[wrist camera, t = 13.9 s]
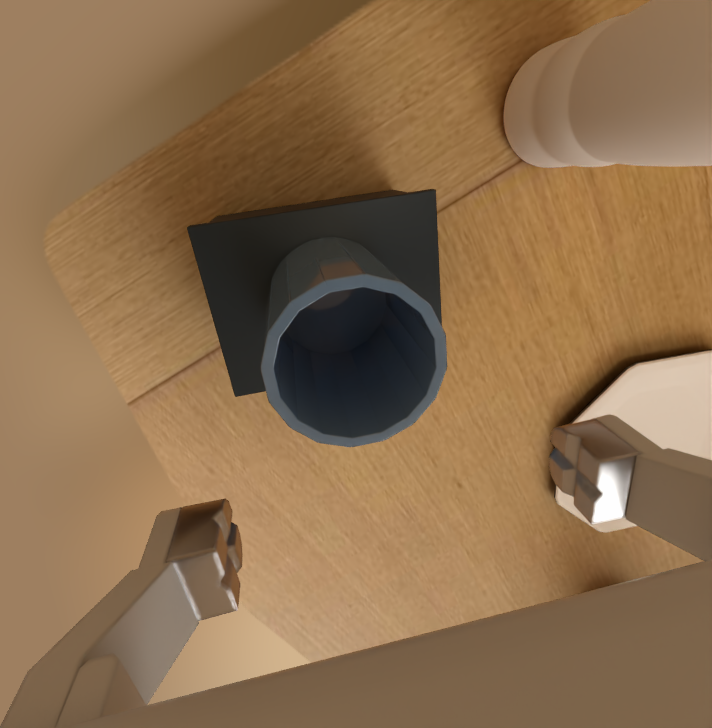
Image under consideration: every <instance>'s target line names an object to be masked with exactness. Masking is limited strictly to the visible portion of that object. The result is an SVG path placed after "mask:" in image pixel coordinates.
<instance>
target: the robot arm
mask: <svg viewBox="0 0 712 728" xmlns="http://www.w3.org/2000/svg"><path fill="white" fill-rule="evenodd" d="M550 442H551V443H552V444H553V445H554V446H555V449H554V450H553V451H552V453H551V454H550V456H549V469H550V473H551V476H552V478H553V480H554V482H555V484H556V485H557V487H558V488H559V489H560V490H561V491H562V492H563V493H565V494H568V495H570V496H572V497H574V506H575V507H576V508H577V509H578V510H579V511H580V512H581V513H582V515H583V516H584V517H585V518H586V519H587V520H588V521H589V522H590V523H591V525H592V524H597V523H601V522H606V521H611V520H616V519H620V518H625V517H626V520H628V521H630V522H632V523H634V524H635V525H637V526H639V527H641V528H643V529H645V530H647V531H649V532H651V533H653V534H654V535H656V536H658V537H660V538H662V539H664V540H666V541H668V542H670V543H672V544H673V545H675V546H677V547H679V548H681V549H683V550H685V551H687V552H689V553H691V554H692V555H694V556H696V557H698V558H700V559H702V560H704V562H700V563H696V564H692V565H689V566H685V567H681V568H677V569H673V570H669V571H665V572H661V573H658V574H654V575H650V576H646V577H642V578H638V579H634V580H630V581H627V582H623V583H619V584H615V585H611V586H607V587H603V588H599V589H596V590H592V591H588V592H584V593H580V594H576V595H572V596H568V597H565V598H561V599H557V600H553V601H549V602H545V603H541V604H537V605H534V606H530V607H526V608H522V609H518V610H514V611H510V612H507V613H503V614H499V615H495V616H491V617H487V618H483V619H479V620H476V621H472V622H468V623H464V624H460V625H456V626H452V627H448V628H445V629H441V630H437V631H433V632H429V633H425V634H421V635H418V636H414V637H410V638H406V639H402V640H398V641H394V642H390V643H387V644H383V645H379V646H375V647H371V648H367V649H363V650H359V651H356V652H352V653H348V654H344V655H340V656H336V657H332V658H329V659H325V660H321V661H317V662H313V663H309V664H305V665H301V666H298V667H294V668H290V669H286V670H282V671H279V672H275V673H271V674H267V675H263V676H259V677H255V678H251V679H248V680H244V681H240V682H236V683H232V684H229V685H224V686H220V687H217V688H213V689H209V690H205V691H201V692H197V693H193V694H189V695H186V696H182V697H178V698H174V699H170V700H166V701H163V702H158V703H155V704H151V705H147V704H148V702H149V701H150V699H151V698H152V696H153V695H154V693H155V691H156V690H157V688H158V687H159V685H160V683H161V682H162V680H163V679H164V677H165V676H166V674H167V673H168V671H169V669H170V668H171V666H172V664H173V663H174V662H175V660H176V658H177V657H178V655H179V654H180V652H181V651H182V649H183V647H184V646H185V644H186V643H187V641H188V640H189V638H190V636H191V635H192V633H193V632H194V630H195V629H196V627H197V625H198V624H199V622H198V621H200V620H204V619H207V618H211V617H215V616H219V615H222V614H226V613H230V612H233V611H237V610H238V604H239V593H240V581H239V578H238V575H237V572H238V571H239V570H240V569H241V567H242V542H241V537H240V533H239V530H238V527H237V525H235V524H234V523H232V522H231V519H232V509H231V506H230V503H229V501H228V500H227V499H221V500H215V501H210V502H205V503H200V504H195V505H190V506H184V507H183V508H176V509H171V510H166V511H161V512H160V513H159V514H158V515H157V517H156V519H155V523H154V525H153V528H152V531H151V534H150V537H149V539H148V542H147V545H146V548H145V551H144V554H143V557H142V560H141V562H140V565H139V568H138V569H136V570H132V571H130V572H129V573H128V574H127V575H126V576H125V577H124V578H123V579H122V580H121V581H120V582H119V584H117V585H116V586H115V587H114V588H113V589H112V590H111V591H110V592H109V593H108V594H107V595H106V596H105V597H104V598H103V599H102V600H101V601H100V602H99V603H98V604H97V605H96V606H95V607H94V608H93V609H91V611H90V612H89V613H87V614H86V615H85V617H83V618H82V619H81V620H80V621H79V622H78V623H77V624H76V625H75V626H74V627H73V628H72V629H71V630H70V631H69V632H68V633H67V634H66V635H65V636H64V637H63V638H62V639H61V640H60V641H59V642H58V643H57V644H56V645H55V646H54V647H53V648H52V649H51V650H50V651H48V653H46V654H45V656H43V657H42V658H41V659H40V660H39V661H38V662H37V663H36V664H35V665H34V666H33V667H32V668H31V669H30V670H29V671H28V672H27V674H26V676H25V678H24V680H23V682H22V684H21V686H20V688H19V690H18V692H17V694H16V696H15V698H14V700H13V702H12V704H11V706H10V708H9V710H8V712H7V714H6V716H5V718H4V720H3V722H2V724H1V726H0V728H712V460H709V459H705V458H702V457H698V456H695V455H691V454H688V453H684V452H681V451H677V450H674V449H670V448H667V449H662V448H661V447H659V446H658V445H656V444H655V443H653V442H652V441H651V440H649V439H648V438H646V437H645V436H644V435H642V434H641V433H639V432H638V431H637V430H635V429H634V428H632V427H631V426H630V425H628V424H627V423H625V422H624V421H623V420H621V419H620V418H618V417H617V416H614V415H611V414H609V415H605V416H601V417H597V418H592V419H590V420H586V421H582V422H577V423H573V424H568V425H564V426H559V427H555V428H553V430H552V432H551V439H550Z"/></svg>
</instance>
